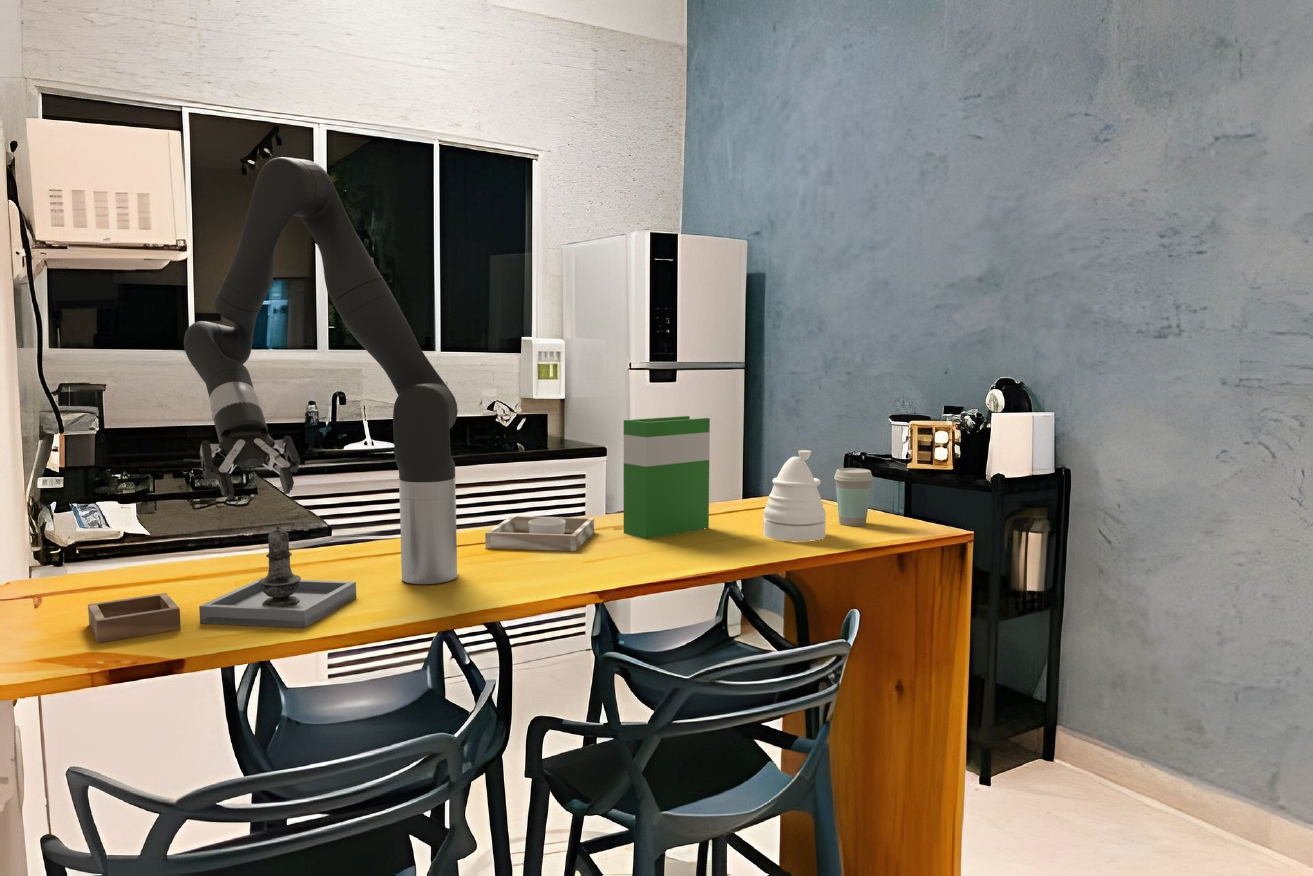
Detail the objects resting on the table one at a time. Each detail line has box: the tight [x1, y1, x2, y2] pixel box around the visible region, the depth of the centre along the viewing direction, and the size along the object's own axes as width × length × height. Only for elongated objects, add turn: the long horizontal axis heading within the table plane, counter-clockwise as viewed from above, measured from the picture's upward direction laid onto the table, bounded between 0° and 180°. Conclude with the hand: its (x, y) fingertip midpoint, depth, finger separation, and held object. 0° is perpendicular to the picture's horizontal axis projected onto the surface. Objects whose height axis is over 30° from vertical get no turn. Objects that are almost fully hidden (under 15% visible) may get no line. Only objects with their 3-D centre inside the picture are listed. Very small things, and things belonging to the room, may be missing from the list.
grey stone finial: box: [259, 524, 302, 608], centre depth 140 cm, size 6×6×12 cm
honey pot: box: [763, 449, 827, 541], centre depth 194 cm, size 13×13×18 cm
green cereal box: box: [623, 415, 711, 540], centre depth 199 cm, size 18×7×24 cm, turn 130°
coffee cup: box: [833, 467, 874, 527], centre depth 208 cm, size 8×8×12 cm
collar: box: [87, 592, 182, 644], centre depth 132 cm, size 10×10×3 cm
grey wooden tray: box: [484, 515, 595, 552], centre depth 190 cm, size 18×18×3 cm
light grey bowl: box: [528, 518, 566, 534], centre depth 187 cm, size 10×10×5 cm
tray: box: [198, 577, 357, 629], centre depth 140 cm, size 16×16×2 cm
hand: (260, 493), depth 146 cm, fingers open, 8 cm apart
